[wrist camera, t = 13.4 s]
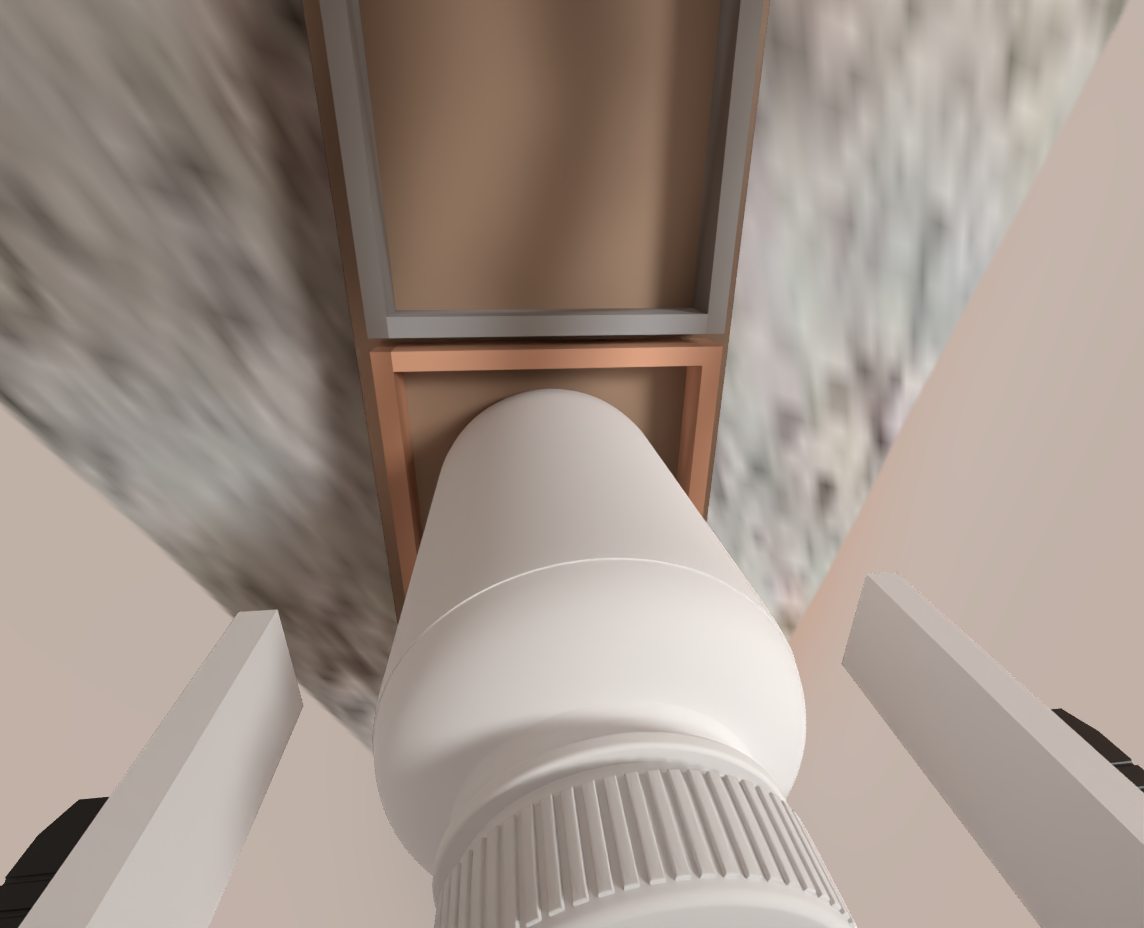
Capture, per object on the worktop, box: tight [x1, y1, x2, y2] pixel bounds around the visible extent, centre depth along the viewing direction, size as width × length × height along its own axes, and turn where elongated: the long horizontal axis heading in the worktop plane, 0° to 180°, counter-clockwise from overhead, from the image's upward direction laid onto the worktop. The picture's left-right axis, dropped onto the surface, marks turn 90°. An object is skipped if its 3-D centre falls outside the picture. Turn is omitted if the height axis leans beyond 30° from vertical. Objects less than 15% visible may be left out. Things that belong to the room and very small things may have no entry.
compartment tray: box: [302, 0, 770, 623], centre depth 18 cm, size 12×23×3 cm, turn 0°
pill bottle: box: [372, 389, 857, 928], centre depth 13 cm, size 8×8×15 cm
